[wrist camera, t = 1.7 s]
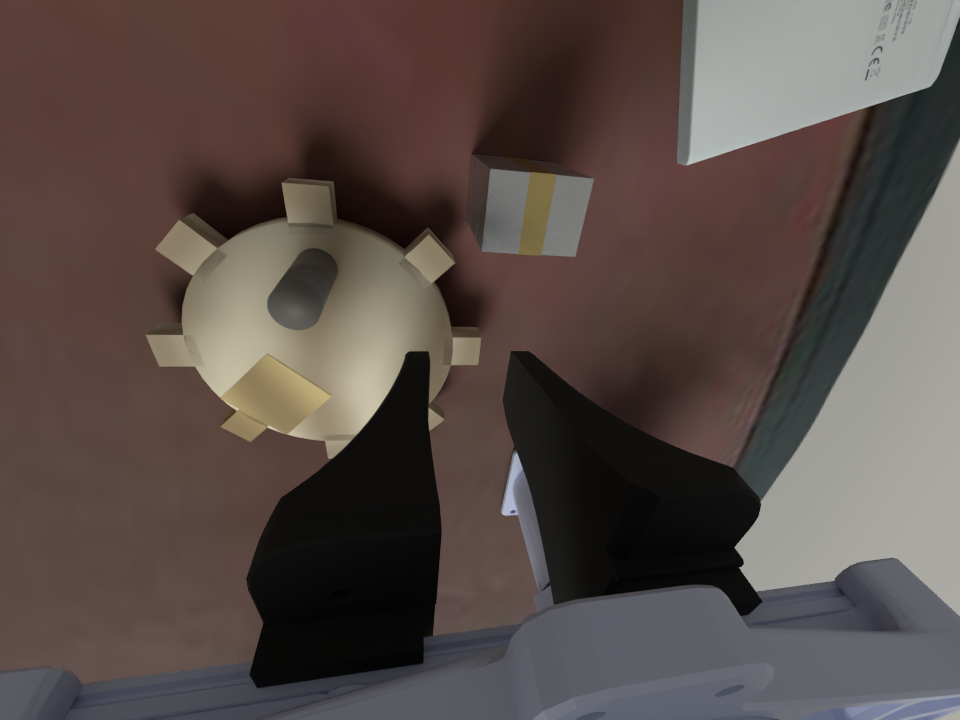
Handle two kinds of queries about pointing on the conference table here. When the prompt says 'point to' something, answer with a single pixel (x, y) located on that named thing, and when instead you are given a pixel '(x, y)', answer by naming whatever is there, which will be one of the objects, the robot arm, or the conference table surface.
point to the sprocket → (309, 318)
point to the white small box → (526, 205)
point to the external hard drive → (799, 64)
